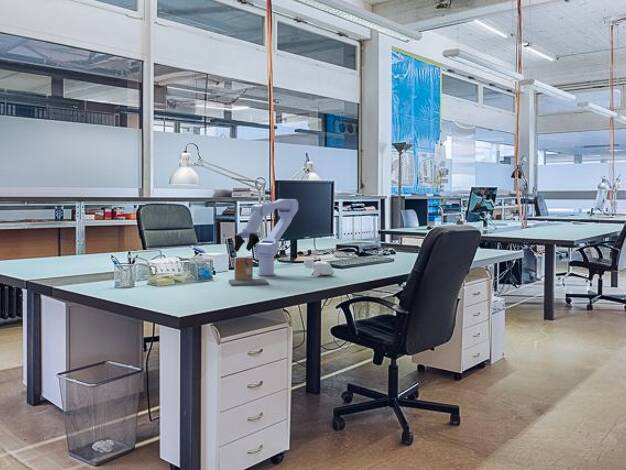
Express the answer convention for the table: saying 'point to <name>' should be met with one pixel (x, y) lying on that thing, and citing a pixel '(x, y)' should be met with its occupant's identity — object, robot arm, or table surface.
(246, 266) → the small box
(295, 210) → the robot arm
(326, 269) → the white animal figurine
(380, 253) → the table surface
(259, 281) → the mat
